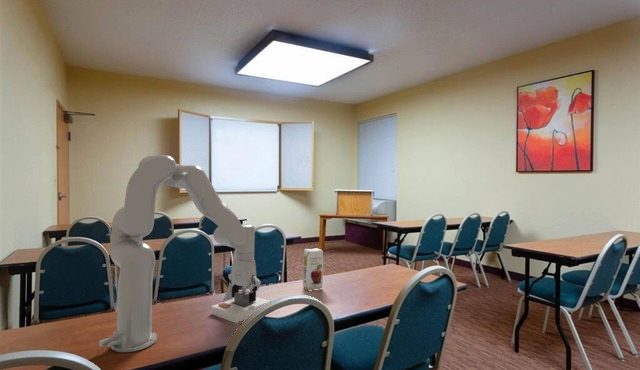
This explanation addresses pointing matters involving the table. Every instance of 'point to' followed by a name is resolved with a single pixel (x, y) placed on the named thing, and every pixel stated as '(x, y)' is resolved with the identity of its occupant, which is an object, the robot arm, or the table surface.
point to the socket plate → (236, 309)
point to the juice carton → (313, 269)
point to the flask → (228, 293)
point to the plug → (242, 298)
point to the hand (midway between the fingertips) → (243, 299)
